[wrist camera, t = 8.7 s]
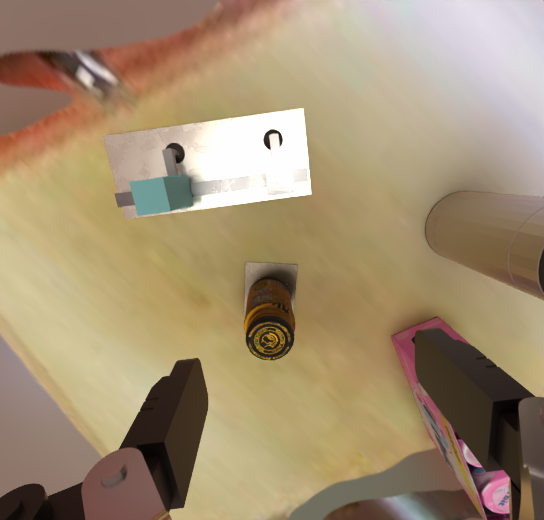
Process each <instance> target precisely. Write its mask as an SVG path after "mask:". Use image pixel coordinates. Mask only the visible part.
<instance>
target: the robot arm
mask: <svg viewBox="0 0 544 520" xmlns="http://www.w3.org/2000/svg"><path fill="white" fill-rule="evenodd" d="M426 238H427V241H428V243H429V245H430V246H431V248H432V249H433V250H434V251H435V252H436V253H438V254H440V255H441V256H444V257H446V258H448V259H450V260H453V261H455V262H457V263H459V264H461V265H464V266H466V267H468V268H471V269H473V270H475V271H477V272H480V273H482V274H484V275H487V276H489V277H491V278H493V279H496V280H498V281H500V282H503V283H505V284H507V285H509V286H512V287H514V288H516V289H519V290H521V291H523V292H525V293H528V294H530V295H533V296H535V297H537V298H539V299H542V300H544V197H540V196H525V195H511V194H497V193H484V192H468V191H462V192H456V193H453V194H450V195H448V196H447V197H445V198H443V199H442V200H441V201H440V202H438V203H437V204H436V206H435V207H434V208H433V209H432V211H431V213H430V215H429V217H428V220H427V223H426ZM415 372H416V376H417V378H418V381H419V383H420V384H421V386H422V387H423V389H424V390H425V391H426V393H427V394H428V395H429V397H430V398H431V399H432V401H433V402H434V403H435V404H436V406H437V407H438V408H439V410H440V411H441V412H442V414H443V415H444V416H445V418H446V419H447V420H448V422H449V423H450V424H451V426H452V427H453V428H454V430H455V431H456V432H457V434H458V435H459V436H460V438H461V439H462V440H463V442H464V443H465V444H466V446H467V447H468V448H469V450H470V451H471V452H472V454H473V455H474V456H475V458H476V459H477V460H478V462H479V463H480V464H481V466H482V467H483V468H484V470H485V471H486V472H492V471H500V470H504V471H505V473H506V474H507V475H508V476H509V487H508V488H509V513H510V520H544V397H535V396H534V395H533V394H532V393H530V392H529V391H528V390H527V389H525V388H524V387H523V386H522V385H521V384H519V383H518V382H517V381H516V380H514V379H513V378H512V377H511V376H509V375H508V374H507V373H506V372H504V371H503V370H502V369H501V368H500V367H497V366H496V364H495V363H493V362H492V361H491V360H490V359H487V358H486V356H485V355H483V354H482V353H481V352H480V351H479V350H477V349H476V348H475V347H473V346H471V345H469V344H467V343H465V342H462V341H460V340H454V339H453V338H451V337H450V336H449V335H448V334H447V333H446V332H444V331H443V330H442V329H441V328H431V329H423V330H417V331H416V333H415ZM207 411H208V393H207V388H206V384H205V380H204V375H203V371H202V367H201V363H200V360H199V359H198V358H194V359H186V360H178V361H177V362H176V363H175V365H174V368H173V370H172V372H171V374H170V376H165V377H162V378H161V379H160V380H159V381H158V382H157V383H156V384H155V385H154V386H153V387H152V388H151V390H150V392H149V394H148V396H147V398H146V401H145V402H144V403H143V405H142V407H141V409H140V412H139V413H138V414H137V416H136V418H135V420H134V422H133V424H132V426H131V427H130V429H129V431H128V433H127V435H126V437H125V439H124V440H123V442H122V444H121V446H120V448H119V450H117V451H114V452H112V453H110V454H108V455H107V456H105V457H104V458H103V459H101V460H100V461H99V462H98V463H97V464H96V465H95V466H94V467H93V468H92V469H91V470H90V471H89V473H88V474H87V476H86V477H85V479H84V482H82V483H80V484H77V485H75V486H72V487H70V488H67V489H65V490H62V491H60V492H57V493H55V494H52V495H50V496H47V494H46V492H45V490H44V487H43V486H41V485H40V484H27V485H24V486H21V487H18V488H16V489H14V490H12V491H10V492H9V493H7V494H5V495H4V496H2V497H1V498H0V520H172V519H171V517H170V515H169V511H170V509H177V508H184V505H185V500H186V496H187V492H188V488H189V484H190V480H191V476H192V472H193V468H194V464H195V460H196V456H197V452H198V448H199V444H200V439H201V435H202V431H203V427H204V423H205V419H206V415H207Z"/></svg>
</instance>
